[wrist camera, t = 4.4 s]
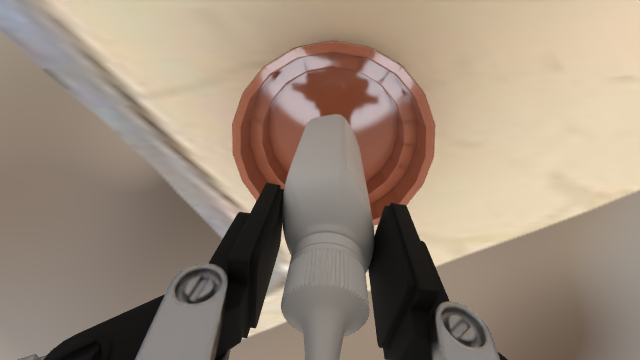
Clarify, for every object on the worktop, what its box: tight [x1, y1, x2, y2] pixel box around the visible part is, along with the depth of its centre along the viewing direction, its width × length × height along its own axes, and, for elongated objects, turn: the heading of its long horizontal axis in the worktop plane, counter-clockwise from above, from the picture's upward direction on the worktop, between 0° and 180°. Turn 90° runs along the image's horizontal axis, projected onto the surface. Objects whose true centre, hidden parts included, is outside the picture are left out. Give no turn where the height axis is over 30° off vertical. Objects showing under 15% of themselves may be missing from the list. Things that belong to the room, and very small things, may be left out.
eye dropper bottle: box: [281, 114, 374, 360], centre depth 11 cm, size 4×6×12 cm
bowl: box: [232, 41, 435, 226], centre depth 20 cm, size 14×14×5 cm
